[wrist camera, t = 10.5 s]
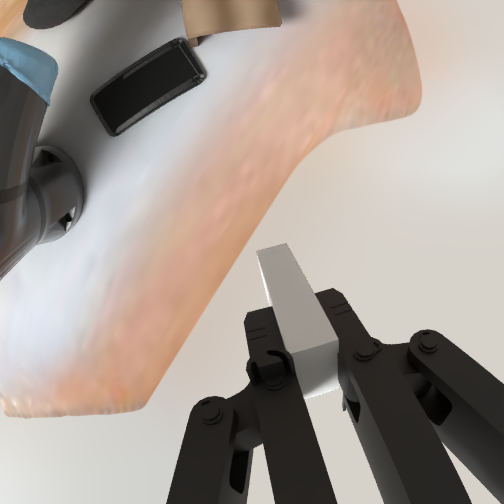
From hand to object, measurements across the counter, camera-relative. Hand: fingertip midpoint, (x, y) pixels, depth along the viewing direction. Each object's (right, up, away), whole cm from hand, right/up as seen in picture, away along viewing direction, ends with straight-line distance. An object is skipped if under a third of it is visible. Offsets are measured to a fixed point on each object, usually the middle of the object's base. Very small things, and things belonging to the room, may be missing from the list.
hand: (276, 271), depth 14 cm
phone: (-15, +23, +17) cm, 33 cm away
